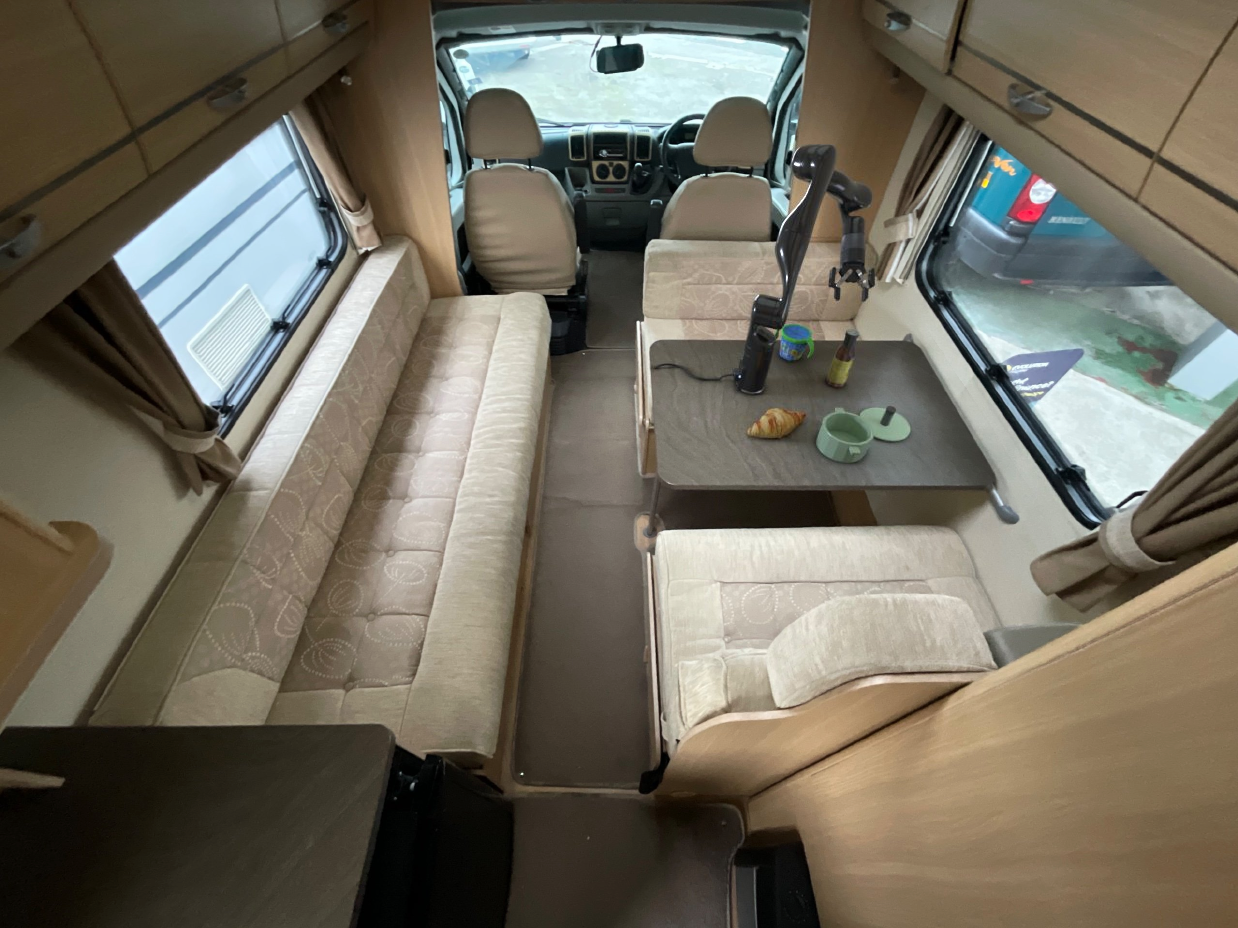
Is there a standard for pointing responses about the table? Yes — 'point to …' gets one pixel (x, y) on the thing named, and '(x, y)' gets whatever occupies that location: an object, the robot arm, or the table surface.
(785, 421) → the croissant
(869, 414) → the pot lid
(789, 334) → the snack cup
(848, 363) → the sauce bottle
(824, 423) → the pot
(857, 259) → the robot arm
